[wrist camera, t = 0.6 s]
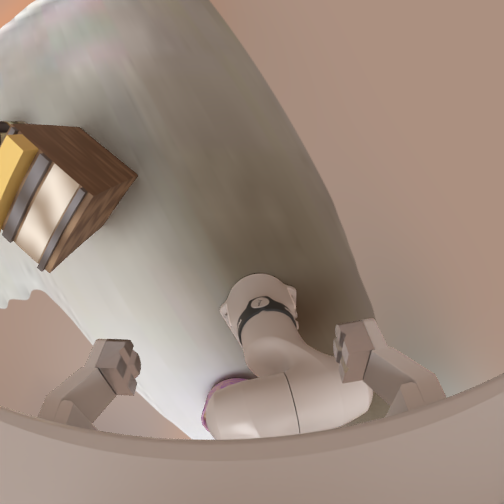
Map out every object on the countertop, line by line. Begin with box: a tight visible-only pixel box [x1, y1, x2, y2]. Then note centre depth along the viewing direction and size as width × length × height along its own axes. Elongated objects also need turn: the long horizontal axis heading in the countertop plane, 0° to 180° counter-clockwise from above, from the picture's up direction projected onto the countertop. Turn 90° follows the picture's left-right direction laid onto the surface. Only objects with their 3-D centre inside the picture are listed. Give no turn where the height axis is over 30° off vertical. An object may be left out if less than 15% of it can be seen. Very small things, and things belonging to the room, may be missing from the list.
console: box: [0, 124, 138, 273], centre depth 44 cm, size 14×19×27 cm
